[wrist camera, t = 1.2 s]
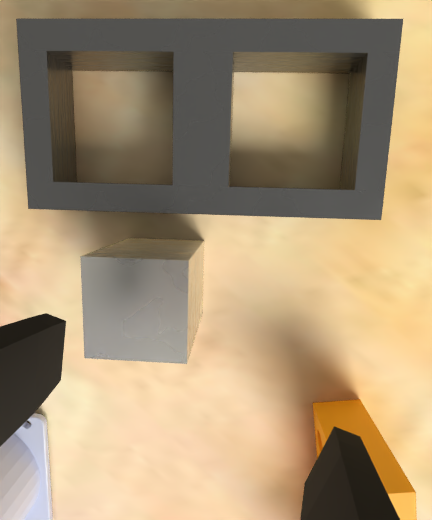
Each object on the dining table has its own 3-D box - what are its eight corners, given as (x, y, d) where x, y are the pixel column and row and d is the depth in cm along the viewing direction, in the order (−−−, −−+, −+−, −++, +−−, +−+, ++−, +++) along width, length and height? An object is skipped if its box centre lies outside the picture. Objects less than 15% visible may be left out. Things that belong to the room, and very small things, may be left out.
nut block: (130, 309, 20) (84, 357, 14) (129, 237, 19) (80, 256, 13) (202, 313, 19) (187, 363, 14) (204, 240, 19) (188, 260, 13)
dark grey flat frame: (54, 207, 19) (28, 208, 17) (46, 42, 17) (16, 18, 15) (362, 216, 18) (381, 219, 16) (379, 44, 17) (403, 19, 14)
